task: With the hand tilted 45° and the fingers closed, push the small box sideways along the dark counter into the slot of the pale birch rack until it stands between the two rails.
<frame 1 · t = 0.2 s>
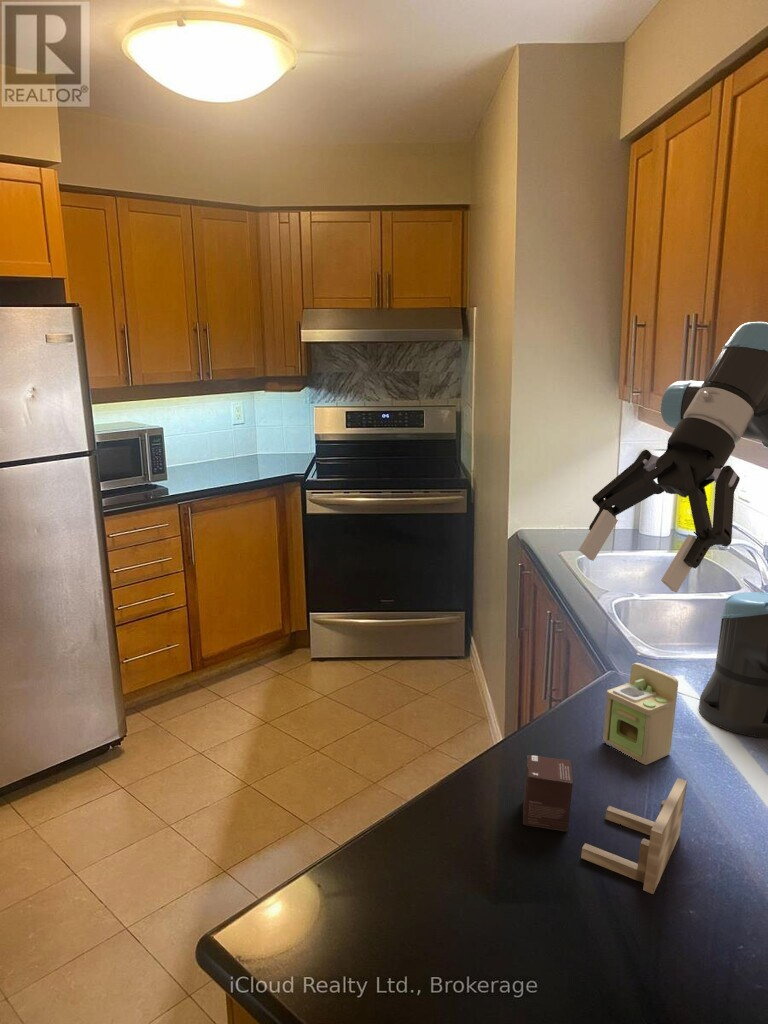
hand: (624, 570, 94), 36 cm above the counter, tool tilted 35°, fingers open, 13 cm apart
rack: (625, 847, 97), on the counter
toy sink: (634, 750, 122), on the counter
box: (544, 818, 102), on the counter
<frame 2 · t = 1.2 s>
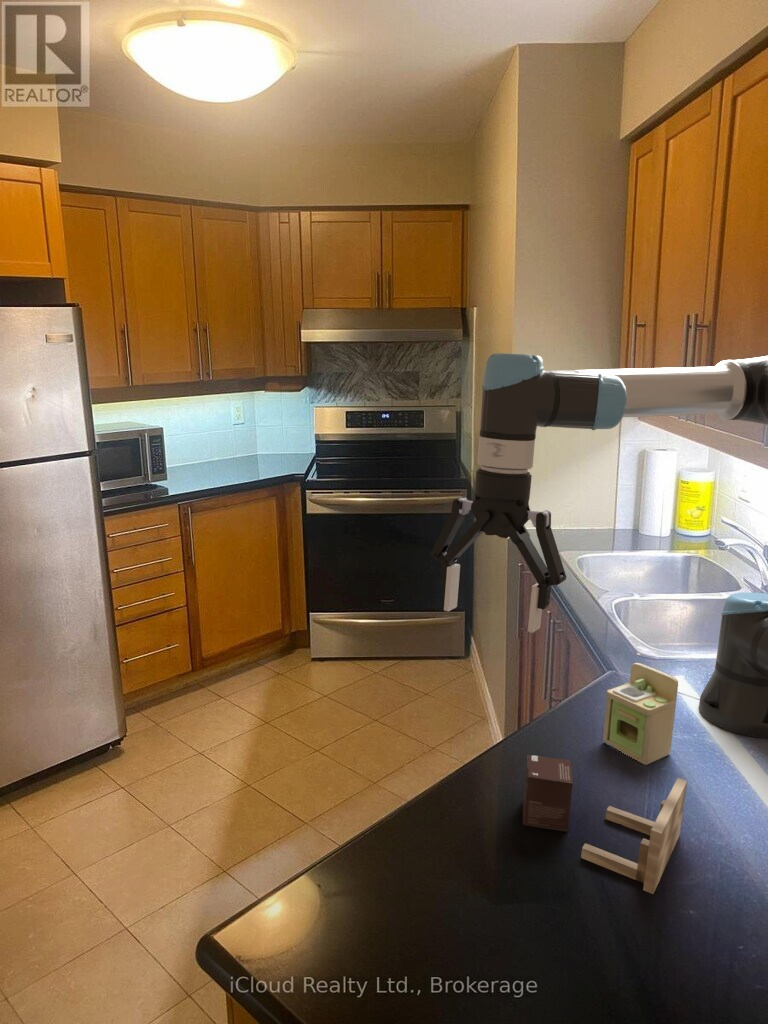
hand: (490, 619, 106), 25 cm above the counter, tool pointing down, fingers open, 12 cm apart
nothing on the counter moved.
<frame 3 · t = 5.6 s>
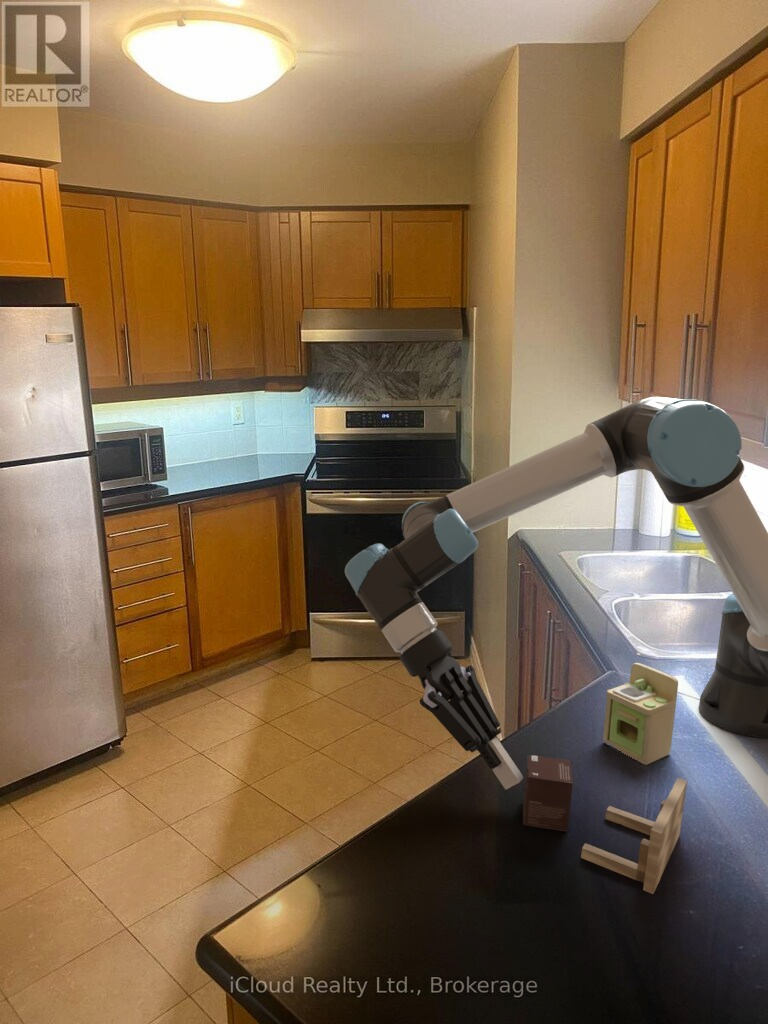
hand: (514, 783, 104), 3 cm above the counter, tool tilted 45°, fingers closed
box: (544, 818, 102), on the counter, touching gripper
everything else where it was.
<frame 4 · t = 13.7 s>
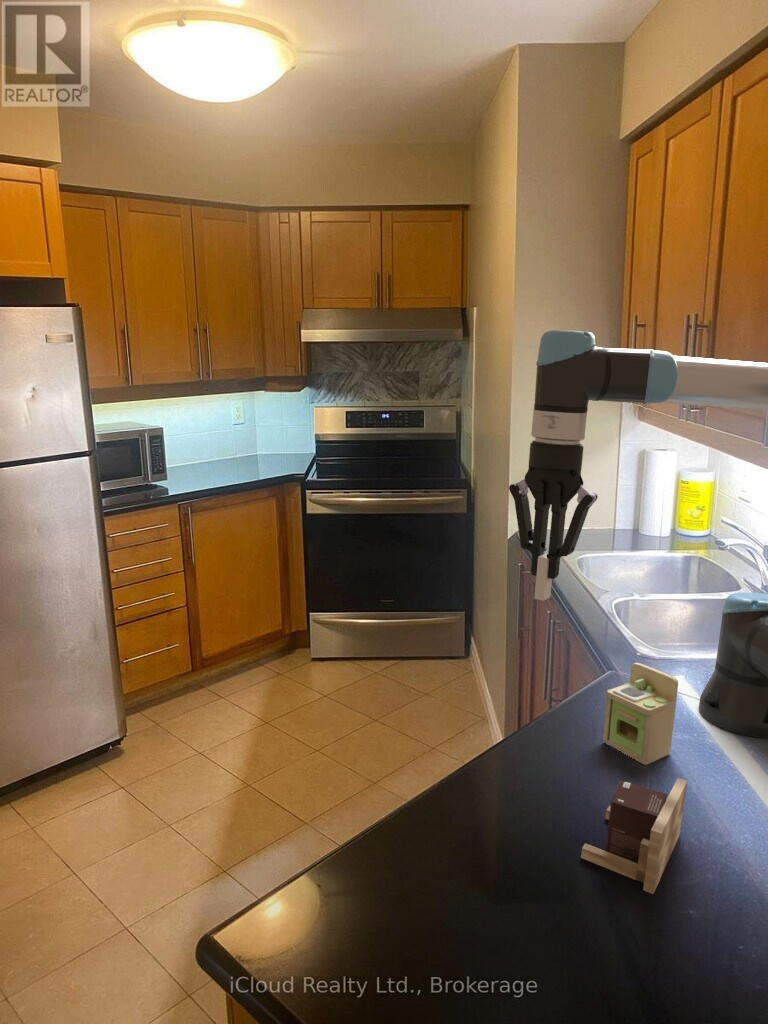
hand: (542, 597, 112), 26 cm above the counter, tool pointing down, fingers closed
box: (632, 849, 97), on the counter
everything else where it was.
at the end: box 1.6 cm off-centre on the rack, point 0.0 cm above the rack's base; box tilted 0° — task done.
